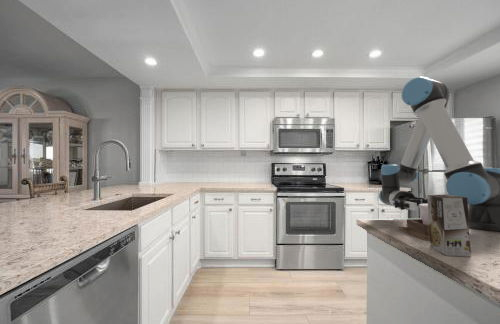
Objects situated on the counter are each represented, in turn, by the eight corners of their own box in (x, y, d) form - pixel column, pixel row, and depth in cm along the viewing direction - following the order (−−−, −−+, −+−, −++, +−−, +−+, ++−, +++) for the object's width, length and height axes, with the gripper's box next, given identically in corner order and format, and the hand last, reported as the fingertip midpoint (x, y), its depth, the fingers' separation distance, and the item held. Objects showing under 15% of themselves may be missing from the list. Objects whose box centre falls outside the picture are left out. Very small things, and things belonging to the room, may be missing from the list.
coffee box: (472, 257, 69) (468, 197, 69) (445, 256, 70) (442, 197, 70) (452, 246, 78) (449, 194, 78) (429, 246, 79) (426, 194, 79)
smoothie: (425, 233, 90) (423, 194, 90) (416, 229, 96) (414, 192, 96) (445, 233, 89) (443, 193, 89) (435, 229, 95) (433, 191, 95)
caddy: (436, 228, 100) (435, 217, 100) (468, 239, 84) (468, 226, 84) (399, 229, 101) (399, 218, 101) (425, 240, 85) (424, 227, 85)
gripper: (432, 207, 110) (473, 216, 89) (373, 209, 111) (399, 218, 90) (431, 190, 110) (471, 195, 89) (372, 191, 111) (398, 196, 90)
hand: (435, 206), depth 89 cm, fingers open, 13 cm apart
